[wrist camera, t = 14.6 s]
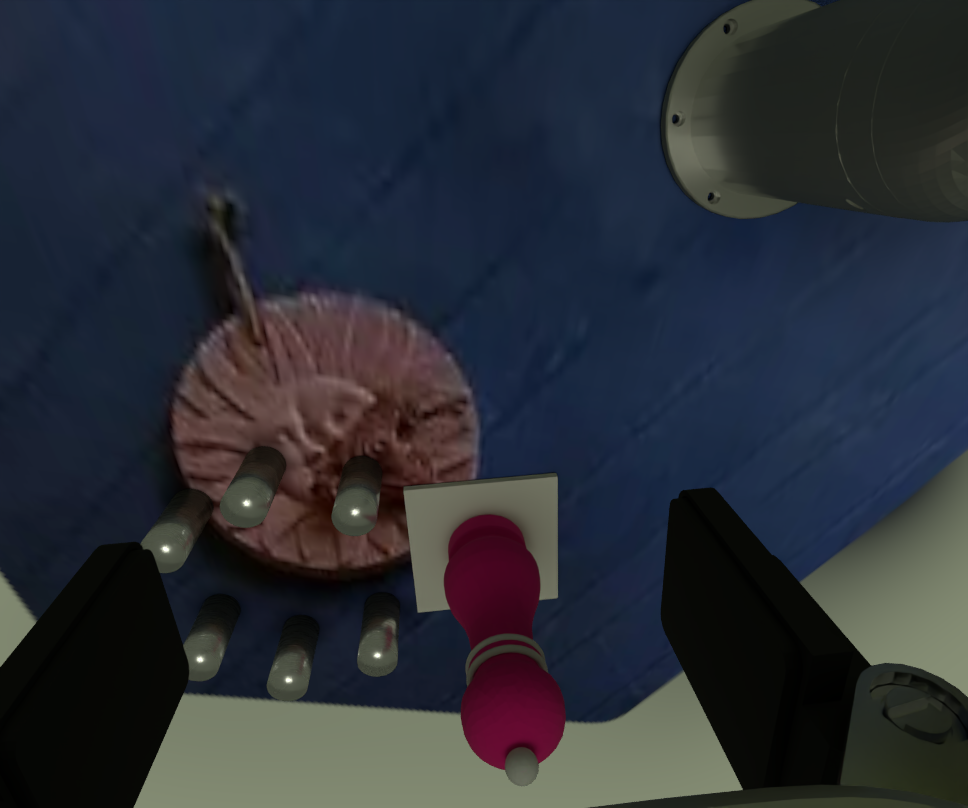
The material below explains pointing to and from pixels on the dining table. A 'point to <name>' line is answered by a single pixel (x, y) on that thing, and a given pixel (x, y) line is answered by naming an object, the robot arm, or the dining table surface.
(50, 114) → the dining table surface
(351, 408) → the dining table surface
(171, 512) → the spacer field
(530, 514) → the mat
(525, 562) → the pepper mill
